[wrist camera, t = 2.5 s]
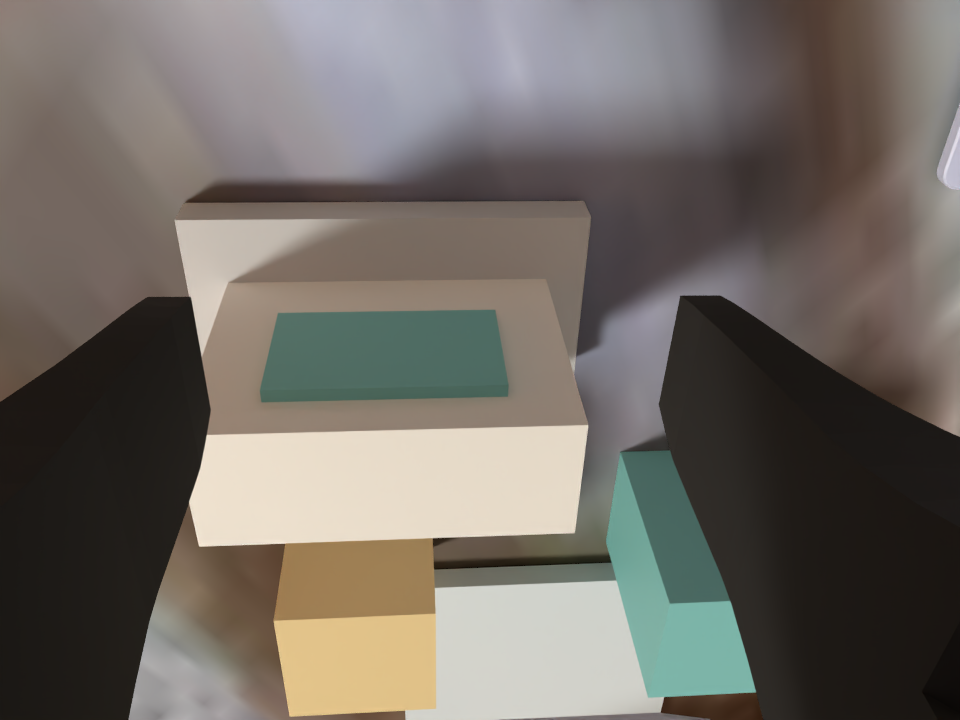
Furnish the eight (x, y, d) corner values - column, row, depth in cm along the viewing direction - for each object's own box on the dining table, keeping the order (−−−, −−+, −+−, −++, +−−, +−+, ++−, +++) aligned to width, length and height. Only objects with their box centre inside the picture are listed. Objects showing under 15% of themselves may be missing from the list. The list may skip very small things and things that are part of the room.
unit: (583, 200, 22) (650, 352, 16) (567, 362, 24) (618, 541, 19) (183, 202, 21) (99, 363, 15) (213, 369, 24) (153, 558, 18)
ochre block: (429, 456, 26) (436, 613, 21) (429, 547, 28) (436, 709, 23) (298, 460, 26) (273, 621, 21) (309, 552, 28) (289, 716, 23)
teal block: (743, 447, 27) (820, 597, 22) (720, 537, 29) (784, 690, 24) (620, 451, 27) (669, 603, 22) (605, 541, 29) (648, 697, 24)
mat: (687, 559, 30) (693, 577, 29) (647, 726, 35) (652, 744, 35) (400, 570, 29) (401, 589, 28) (406, 739, 34) (407, 758, 34)
